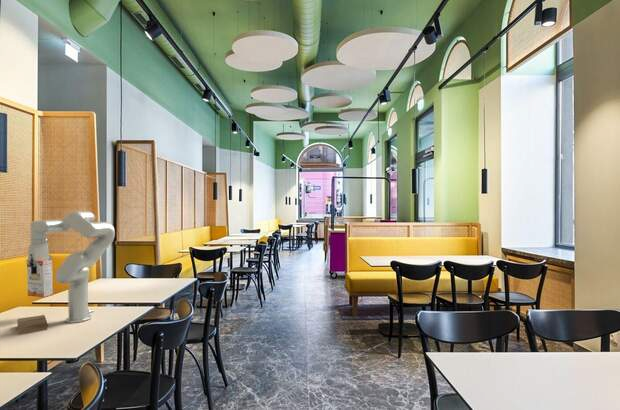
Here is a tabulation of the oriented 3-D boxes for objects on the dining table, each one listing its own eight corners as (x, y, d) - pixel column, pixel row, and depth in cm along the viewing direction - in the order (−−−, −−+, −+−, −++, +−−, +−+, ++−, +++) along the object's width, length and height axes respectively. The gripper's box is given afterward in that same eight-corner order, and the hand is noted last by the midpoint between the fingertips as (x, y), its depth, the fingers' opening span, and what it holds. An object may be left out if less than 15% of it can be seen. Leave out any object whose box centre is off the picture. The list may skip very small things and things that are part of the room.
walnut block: (17, 326, 210) (17, 318, 210) (44, 321, 217) (44, 314, 217) (18, 334, 196) (18, 326, 196) (47, 329, 203) (47, 321, 203)
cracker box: (26, 296, 226) (26, 260, 226) (37, 294, 231) (36, 259, 232) (43, 297, 221) (42, 260, 221) (53, 295, 226) (52, 259, 226)
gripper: (46, 240, 236) (47, 270, 235) (19, 243, 219) (20, 275, 219) (56, 240, 234) (57, 270, 234) (30, 243, 217) (31, 275, 217)
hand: (39, 272), depth 226 cm, fingers closed on cracker box, 6 cm apart
